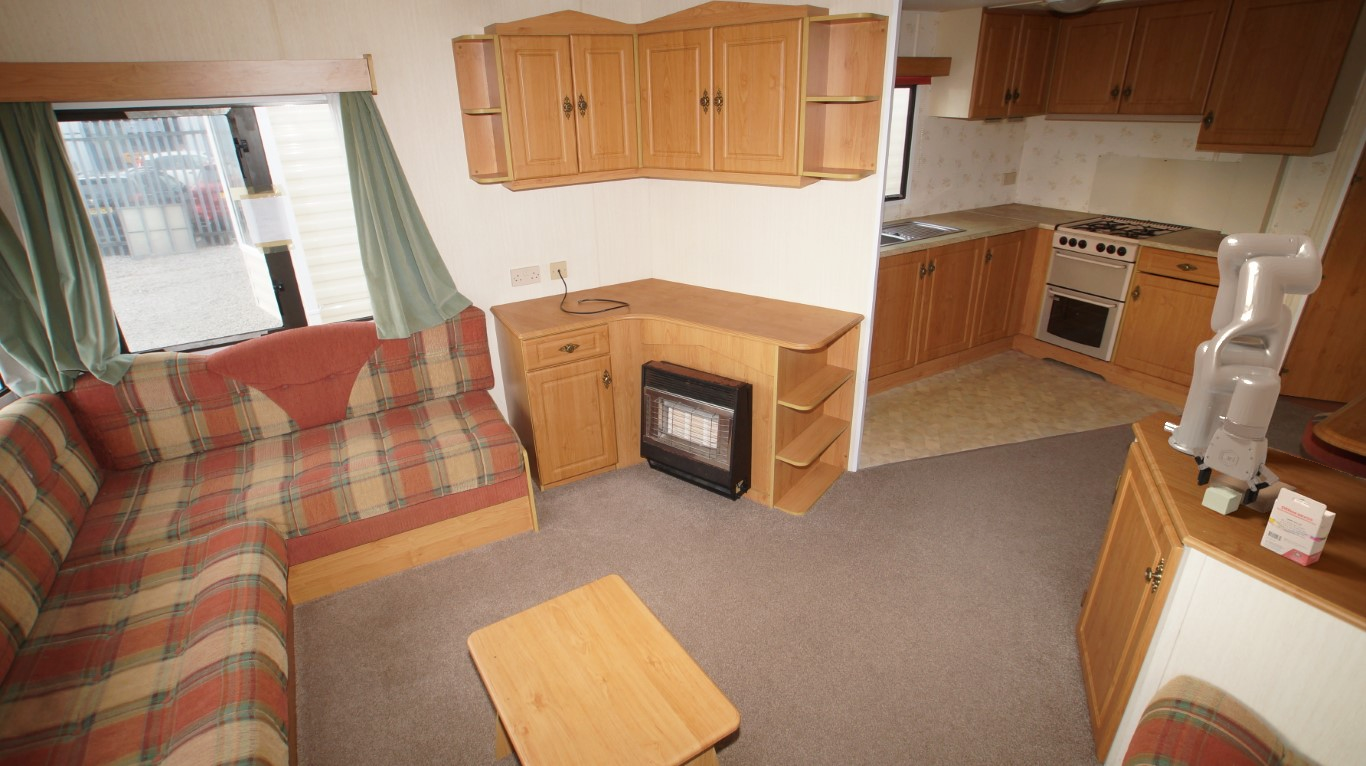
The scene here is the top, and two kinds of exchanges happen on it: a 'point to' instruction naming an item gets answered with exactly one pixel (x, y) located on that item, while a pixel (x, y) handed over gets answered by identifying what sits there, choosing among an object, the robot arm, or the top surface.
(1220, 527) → the top surface
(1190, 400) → the robot arm
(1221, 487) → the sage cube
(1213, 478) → the walnut block
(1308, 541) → the ink cartridge box
